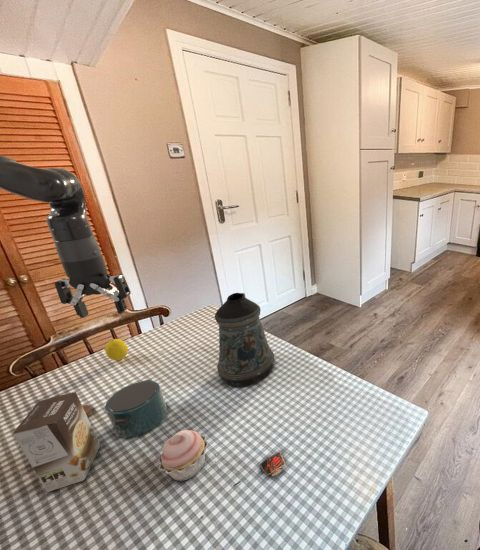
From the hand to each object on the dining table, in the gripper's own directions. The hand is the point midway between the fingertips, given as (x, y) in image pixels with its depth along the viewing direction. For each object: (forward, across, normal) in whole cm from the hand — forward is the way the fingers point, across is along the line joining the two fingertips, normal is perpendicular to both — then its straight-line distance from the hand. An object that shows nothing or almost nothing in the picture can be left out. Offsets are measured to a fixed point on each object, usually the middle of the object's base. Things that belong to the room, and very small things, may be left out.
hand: (103, 314), depth 79 cm
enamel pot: (+24, -8, +14) cm, 29 cm away
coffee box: (+24, 0, +25) cm, 35 cm away
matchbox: (+24, -42, +34) cm, 60 cm away
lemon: (+24, +10, -15) cm, 30 cm away
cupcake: (+24, -24, +31) cm, 46 cm away
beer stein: (+24, -32, -2) cm, 40 cm away
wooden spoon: (+24, +8, +14) cm, 29 cm away
